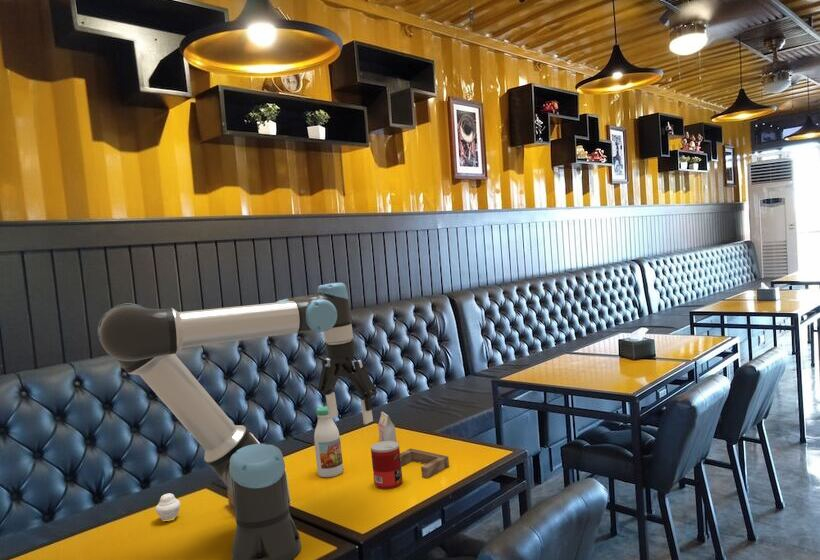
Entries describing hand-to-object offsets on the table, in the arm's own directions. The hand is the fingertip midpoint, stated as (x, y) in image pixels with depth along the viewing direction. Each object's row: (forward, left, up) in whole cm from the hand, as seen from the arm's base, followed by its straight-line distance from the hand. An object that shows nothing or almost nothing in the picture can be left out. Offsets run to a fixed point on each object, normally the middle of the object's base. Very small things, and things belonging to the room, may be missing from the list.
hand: (350, 419), depth 157 cm
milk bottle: (+8, +20, -21) cm, 31 cm away
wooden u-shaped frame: (+24, -1, -21) cm, 32 cm away
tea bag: (+36, +23, -21) cm, 48 cm away
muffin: (-35, +35, -21) cm, 54 cm away
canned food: (+11, -1, -21) cm, 24 cm away
